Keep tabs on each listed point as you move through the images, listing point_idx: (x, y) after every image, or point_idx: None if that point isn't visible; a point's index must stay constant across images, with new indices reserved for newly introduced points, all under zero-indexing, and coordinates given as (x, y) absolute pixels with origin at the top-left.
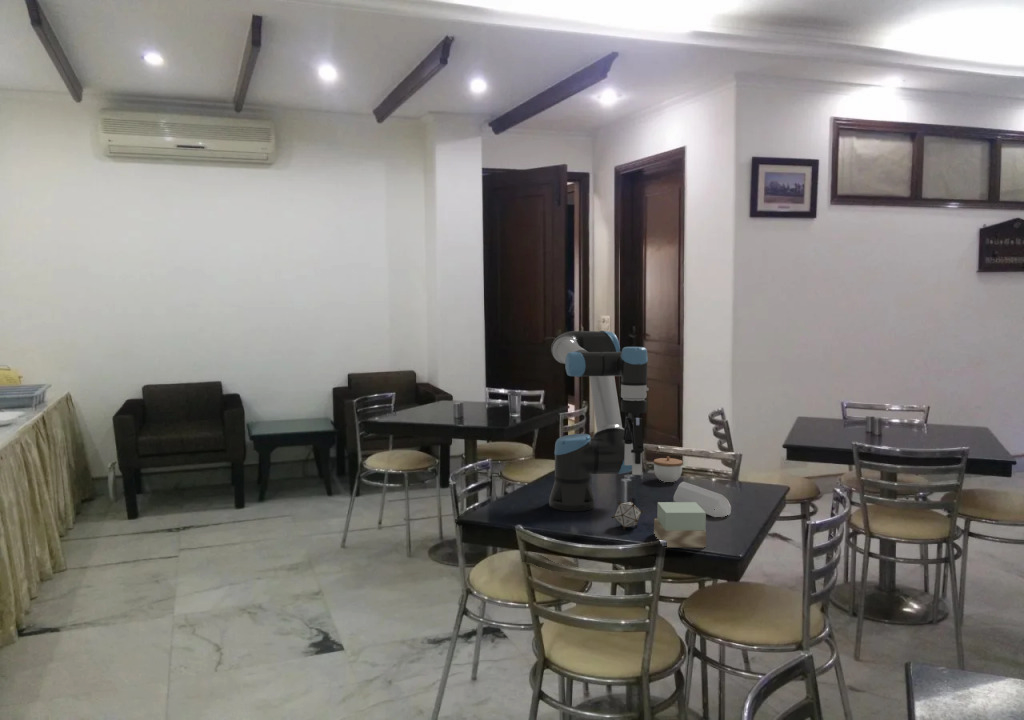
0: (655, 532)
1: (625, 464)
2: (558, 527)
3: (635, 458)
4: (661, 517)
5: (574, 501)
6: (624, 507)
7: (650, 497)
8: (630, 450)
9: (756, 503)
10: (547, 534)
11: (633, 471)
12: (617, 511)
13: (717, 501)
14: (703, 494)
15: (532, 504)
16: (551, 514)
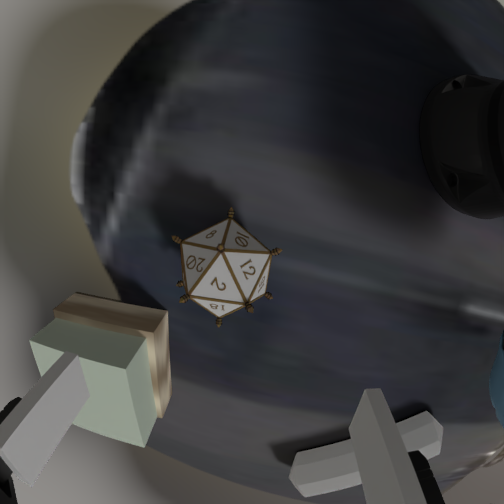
0: (143, 312)
1: (364, 396)
2: (248, 39)
3: (3, 419)
4: (85, 338)
5: (438, 126)
6: (197, 261)
7: (476, 369)
8: (377, 494)
9: (360, 497)
10: (182, 11)
11: (57, 367)
12: (217, 232)
13: (298, 482)
14: (351, 474)
15: (478, 47)
16: (393, 52)
